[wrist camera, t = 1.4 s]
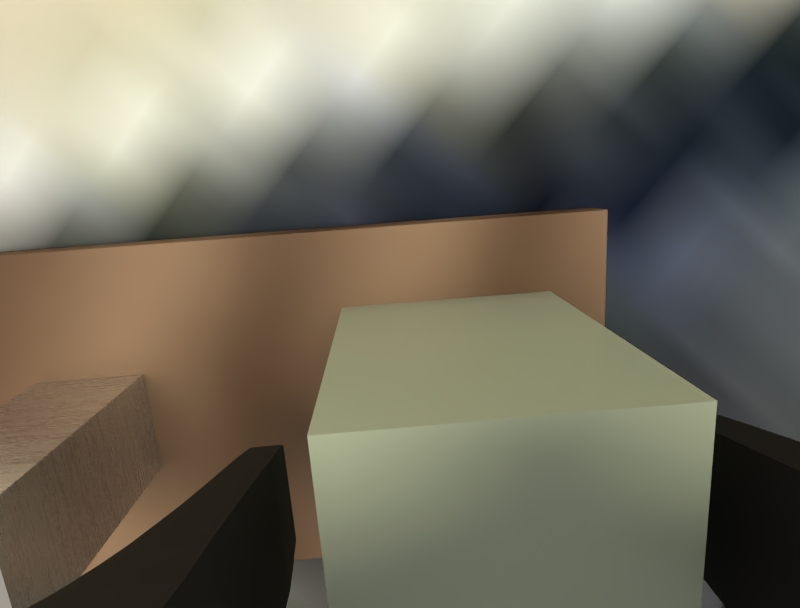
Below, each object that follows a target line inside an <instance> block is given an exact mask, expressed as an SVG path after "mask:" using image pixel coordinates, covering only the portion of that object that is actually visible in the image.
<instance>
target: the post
mask: <svg viewBox="0 0 800 608" xmlns="http://www.w3.org/2000/svg"><path fill="white" fill-rule="evenodd" d="M161 467H162V465H161V460H160V455H159V450H158V445H157V440H156V435H155V430H154V425H153V420H152V415H151V410H150V405H149V400H148V395H147V390H146V384H145V379H144V374H137V375H124V376H112V377H100V378H87V379H75V380H63V381H51V382H38V383H37V384H35V385H33V386H32V387H30V388H28V389H27V390H25V391H23V392H22V393H20V394H18V395H17V396H15V397H13V398H12V399H10V400H8V401H7V402H5V403H3V404H2V405H0V608H28V607H30V606H32V605H33V604H35V603H37V602H39V601H41V600H42V599H44V598H46V597H48V596H50V595H51V594H53V593H55V592H57V591H58V590H60V589H61V588H63V587H65V586H66V585H68V584H70V583H71V582H73V581H74V580H76V579H77V578H79V577H80V576H81V575H82V574H83V572H84V571H85V570H86V568H87V567H88V566H89V564H90V563H91V562H92V560H93V559H94V558H95V556H96V555H97V554H98V552H99V551H100V550H101V548H102V547H103V546H104V544H105V543H106V541H107V540H108V539H109V537H110V536H111V535H112V533H113V532H114V531H115V529H116V528H117V527H118V525H119V524H120V523H121V521H122V520H123V519H124V517H125V516H126V515H127V513H128V512H129V511H130V509H131V508H132V506H133V505H134V504H135V502H136V501H137V500H138V498H139V497H140V496H141V494H142V493H143V492H144V490H145V489H146V488H147V486H148V485H149V484H150V482H151V481H152V480H153V478H154V477H155V476H156V474H157V473H158V472H159V470H160V469H161Z"/></svg>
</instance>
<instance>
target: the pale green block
mask: <svg viewBox="0 0 800 608" xmlns="http://www.w3.org/2000/svg"><path fill="white" fill-rule="evenodd" d="M716 412H717V400H715V399H714V398H712V397H711V396H709V395H708V394H706V393H705V392H703V391H702V390H700V389H698V388H697V387H695V386H694V385H692V384H691V383H689V382H688V381H686V380H685V379H683V378H682V377H680V376H679V375H677V374H676V373H674V372H673V371H671V370H670V369H668V368H667V367H665V366H663V365H662V364H660V363H659V362H657V361H656V360H654V359H653V358H651V357H650V356H648V355H647V354H645V353H644V352H642V351H641V350H639V349H638V348H636V347H635V346H633V345H632V344H630V343H628V342H627V341H625V340H624V339H622V338H621V337H619V336H618V335H616V334H615V333H613V332H612V331H610V330H609V329H607V328H606V327H604V326H603V325H601V324H600V323H598V322H597V321H595V320H593V319H592V318H590V317H589V316H587V315H586V314H584V313H583V312H581V311H580V310H578V309H577V308H575V307H574V306H572V305H571V304H569V303H568V302H566V301H565V300H563V299H562V298H560V297H558V296H557V295H555V294H554V293H552V292H551V291H546V292H533V293H520V294H508V295H495V296H482V297H470V298H457V299H444V300H432V301H419V302H407V303H394V304H381V305H369V306H356V307H343V308H342V309H341V313H340V316H339V320H338V324H337V327H336V331H335V335H334V338H333V342H332V346H331V350H330V353H329V357H328V361H327V364H326V368H325V372H324V375H323V379H322V383H321V386H320V390H319V394H318V397H317V401H316V405H315V409H314V412H313V416H312V420H311V423H310V427H309V431H308V434H307V439H308V447H309V455H310V463H311V471H312V479H313V487H314V495H315V503H316V511H317V519H318V527H319V535H320V543H321V552H322V560H323V568H324V576H325V584H326V592H327V600H328V608H701V602H702V589H703V577H704V564H705V551H706V539H707V526H708V513H709V501H710V488H711V475H712V463H713V450H714V437H715V425H716Z"/></svg>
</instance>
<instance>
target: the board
mask: <svg viewBox="0 0 800 608" xmlns="http://www.w3.org/2000/svg"><path fill="white" fill-rule="evenodd" d="M606 253H607V210H605V209H598V208H578V209H565V210H552V211H538V212H525V213H512V214H499V215H485V216H472V217H459V218H445V219H432V220H419V221H406V222H392V223H379V224H366V225H353V226H339V227H326V228H313V229H300V230H286V231H273V232H260V233H246V234H233V235H220V236H207V237H193V238H180V239H167V240H154V241H140V242H127V243H114V244H100V245H87V246H74V247H61V248H47V249H34V250H21V251H8V252H0V405H2V404H3V403H5V402H7V401H8V400H10V399H12V398H13V397H15V396H17V395H18V394H20V393H22V392H23V391H25V390H27V389H28V388H30V387H32V386H33V385H35V384H37V383H38V382H51V381H63V380H75V379H87V378H100V377H112V376H124V375H137V374H144V379H145V384H146V390H147V395H148V400H149V405H150V410H151V415H152V420H153V425H154V430H155V435H156V440H157V445H158V450H159V455H160V460H161V465H162V467H161V469H160V470H159V472H158V473H157V474H156V476H155V477H154V478H153V480H152V481H151V482H150V484H149V485H148V486H147V488H146V489H145V490H144V492H143V493H142V494H141V496H140V497H139V498H138V500H137V501H136V502H135V504H134V505H133V506H132V508H131V509H130V511H129V512H128V513H127V515H126V516H125V517H124V519H123V520H122V521H121V523H120V524H119V525H118V527H117V528H116V529H115V531H114V532H113V533H112V535H111V536H110V537H109V539H108V540H107V541H106V543H105V544H104V546H103V547H102V548H101V550H100V551H99V552H98V554H97V555H96V556H95V558H94V559H93V560H92V562H91V563H90V564H89V566H88V567H87V568H86V570H85V571H84V572H83V574H82V575H84V574H85V573H87V572H88V571H90V570H92V569H93V568H95V567H96V566H98V565H99V564H101V563H102V562H104V561H105V560H107V559H108V558H110V557H111V556H113V555H114V554H116V553H117V552H119V551H120V550H122V549H123V548H124V547H126V546H127V545H129V544H130V543H131V542H133V541H134V540H136V539H137V538H138V537H139V536H141V535H142V534H143V533H145V532H146V531H147V530H149V529H150V528H151V527H153V526H154V525H155V524H156V523H158V522H159V521H160V520H162V519H163V518H164V517H166V516H167V515H168V514H170V513H171V512H172V511H173V510H175V509H176V508H177V507H179V506H180V505H181V504H182V503H184V502H185V501H186V500H187V499H189V498H190V497H191V496H192V495H193V494H195V493H196V492H197V491H198V490H199V489H200V488H202V487H203V486H204V485H205V484H206V483H208V482H209V481H210V480H211V479H212V478H214V477H215V476H216V475H217V474H218V473H220V472H221V471H222V470H223V469H224V468H225V467H227V466H228V465H229V464H230V463H231V462H232V461H234V460H235V459H236V458H237V457H239V456H240V455H241V454H242V453H244V452H245V451H246V450H248V449H249V448H251V447H262V446H273V445H283V446H284V454H285V461H286V468H287V475H288V483H289V490H290V497H291V504H292V512H293V519H294V526H295V533H296V546H295V554H294V560H302V559H313V558H322V552H321V543H320V535H319V527H318V519H317V511H316V503H315V495H314V487H313V479H312V471H311V463H310V455H309V447H308V439H307V434H308V431H309V427H310V423H311V420H312V416H313V412H314V409H315V405H316V401H317V397H318V394H319V390H320V386H321V383H322V379H323V375H324V372H325V368H326V364H327V361H328V357H329V353H330V350H331V346H332V342H333V338H334V335H335V331H336V327H337V324H338V320H339V316H340V313H341V309H342V308H343V307H356V306H369V305H381V304H394V303H407V302H419V301H432V300H444V299H457V298H470V297H482V296H495V295H508V294H520V293H533V292H546V291H551V292H552V293H554V294H555V295H557V296H558V297H560V298H562V299H563V300H565V301H566V302H568V303H569V304H571V305H572V306H574V307H575V308H577V309H578V310H580V311H581V312H583V313H584V314H586V315H587V316H589V317H590V318H592V319H593V320H595V321H597V322H598V323H600V324H601V325H603V326H604V327H605V297H606ZM82 575H81V576H82ZM81 576H80V577H81Z"/></svg>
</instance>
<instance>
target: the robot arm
mask: <svg viewBox="0 0 800 608" xmlns="http://www.w3.org/2000/svg"><path fill="white" fill-rule="evenodd" d="M295 546H296V533H295V526H294V519H293V512H292V504H291V497H290V490H289V483H288V475H287V468H286V461H285V454H284V446H283V445H273V446H262V447H251V448H249V449H248V450H246V451H245V452H244V453H242V454H241V455H240V456H239V457H237V458H236V459H235V460H234V461H232V462H231V463H230V464H229V465H228V466H227V467H225V468H224V469H223V470H222V471H221V472H220V473H218V474H217V475H216V476H215V477H214V478H212V479H211V480H210V481H209V482H208V483H206V484H205V485H204V486H203V487H202V488H200V489H199V490H198V491H197V492H196V493H195V494H193V495H192V496H191V497H190V498H189V499H187V500H186V501H185V502H184V503H182V504H181V505H180V506H179V507H177V508H176V509H175V510H173V511H172V512H171V513H170V514H168V515H167V516H166V517H164V518H163V519H162V520H160V521H159V522H158V523H156V524H155V525H154V526H153V527H151V528H150V529H149V530H147V531H146V532H145V533H143V534H142V535H141V536H139V537H138V538H137V539H136V540H134V541H133V542H131V543H130V544H129V545H127V546H126V547H124V548H123V549H122V550H120V551H119V552H117V553H116V554H114V555H113V556H111V557H110V558H108V559H107V560H105V561H104V562H102V563H101V564H99V565H98V566H96V567H95V568H93V569H92V570H90V571H88V572H87V573H85V574H84V575H82V576H81V577H79V578H77V579H76V580H74V581H73V582H71V583H70V584H68V585H66V586H65V587H63V588H61V589H60V590H58V591H57V592H55V593H53V594H51V595H50V596H48V597H46V598H44V599H42V600H41V601H39V602H37V603H35V604H33V605H32V606H30V607H28V608H286V605H287V601H288V596H289V592H290V586H291V578H292V571H293V563H294V554H295ZM703 579H704V580H705V581H706V582H707V584H708V585H709V586H710V587H711V589H712V590H713V591H714V593H715V594H716V595H717V596H718V598H719V599H720V600H721V601H722V603H723V604H724V605H725V606H726V608H800V442H798V441H796V440H793V439H790V438H787V437H784V436H781V435H778V434H775V433H772V432H769V431H766V430H763V429H760V428H757V427H754V426H751V425H748V424H745V423H742V422H739V421H736V420H733V419H729V418H726V417H723V416H720V415H716V425H715V437H714V450H713V463H712V475H711V488H710V501H709V513H708V526H707V539H706V551H705V564H704V577H703Z"/></svg>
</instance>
